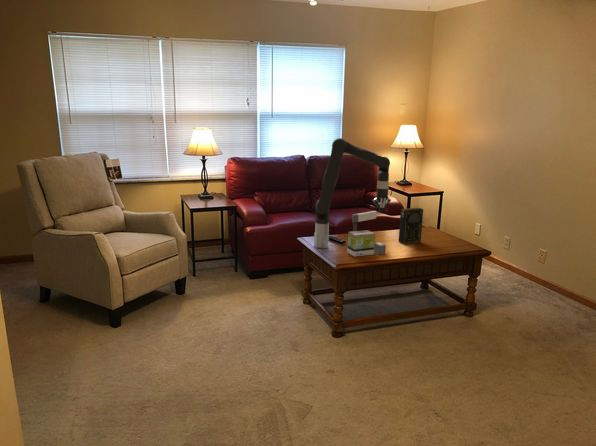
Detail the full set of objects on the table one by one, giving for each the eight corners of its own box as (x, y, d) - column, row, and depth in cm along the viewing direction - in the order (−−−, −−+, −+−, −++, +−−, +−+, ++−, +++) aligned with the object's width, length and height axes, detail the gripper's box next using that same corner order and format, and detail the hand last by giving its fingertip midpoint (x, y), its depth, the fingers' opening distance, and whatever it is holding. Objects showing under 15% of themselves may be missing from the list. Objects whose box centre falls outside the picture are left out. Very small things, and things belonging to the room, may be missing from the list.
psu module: (378, 254, 305) (378, 245, 304) (373, 251, 313) (373, 242, 311) (385, 254, 307) (385, 245, 305) (379, 250, 314) (380, 241, 312)
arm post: (351, 250, 313) (352, 223, 309) (348, 247, 319) (349, 221, 314) (359, 249, 315) (361, 223, 310) (356, 247, 321) (357, 221, 316)
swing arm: (377, 218, 322) (377, 211, 321) (355, 222, 310) (355, 215, 308) (372, 217, 325) (373, 210, 324) (351, 221, 313) (351, 214, 311)
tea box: (354, 257, 299) (355, 235, 296) (346, 252, 308) (347, 231, 305) (374, 254, 305) (375, 233, 302) (366, 250, 314) (367, 229, 311)
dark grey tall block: (403, 245, 327) (406, 210, 320) (396, 241, 334) (399, 208, 328) (422, 243, 333) (424, 209, 326) (414, 239, 340) (417, 206, 334)
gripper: (375, 188, 301) (374, 214, 305) (394, 188, 305) (392, 213, 309) (371, 186, 308) (369, 212, 312) (389, 186, 312) (387, 211, 316)
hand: (380, 212), depth 311 cm, fingers closed
